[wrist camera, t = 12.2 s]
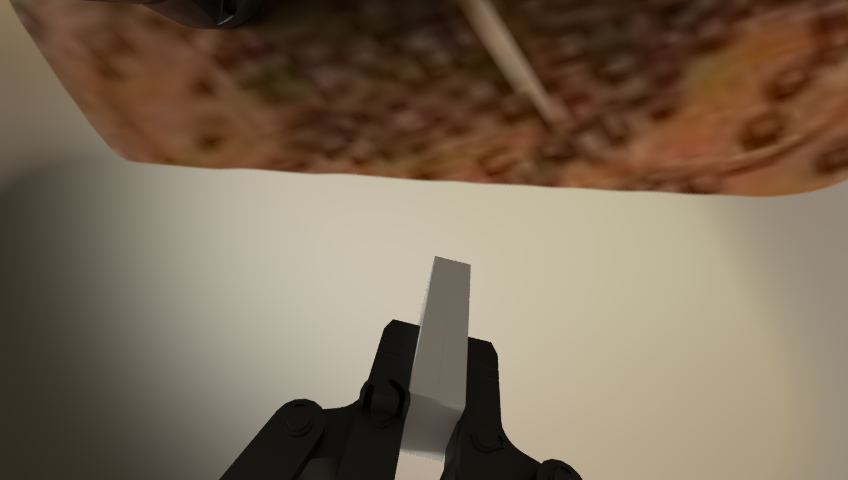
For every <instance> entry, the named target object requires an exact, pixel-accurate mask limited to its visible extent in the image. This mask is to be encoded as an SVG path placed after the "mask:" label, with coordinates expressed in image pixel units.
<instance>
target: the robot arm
mask: <svg viewBox="0 0 848 480" xmlns="http://www.w3.org/2000/svg"><path fill="white" fill-rule="evenodd" d="M86 1H101V2H115V3H129V4H142V5H144V6H146V7H148V8H150V9H152V10H154V11H156V12H158V13H160V14H162V15H164V16H166V17H168V18H170V19H172V20H174V21H176V22H178V23H180V24H183V25H186V26H189V27H193V28H199V29H227V28H232V27H235V26H238V25H240V24H242V23H243V22H245V21H247V20H248V19H249V18H250V17H252V16H253V15H254V14H255V12H256V11H257V10H258V9H259V7H260V6H261V4H262V3H263V1H264V0H86ZM470 266H471V265H470V264H465V263H461V262H457V261H453V260H449V259H444V258H441V257H437V256H435V258H434V262H433V266H432V270H431V274H430V277H429V281H428V285H427V289H426V293H425V297H424V300H423V304H422V309H421V314H420V318H419V323H418V325H414V324H410V323H406V322H402V321H398V320H392V321H391V322H390V323H389V324H388V325H387V326H386V327H385V328H384V330H383V334H382V337H381V340H380V343H379V346H378V350H377V353H376V356H375V359H374V362H373V366H372V369H371V372H370V375H369V378H368V380H367V381H366V382H365V383H364V385H363V387H362V388H361V391H360V396H359V399H358V400H357V401H355V402H354V403H353V404H350V405H348V406H346V407H341V408H332V409H322V408H321V406H319V405H318V404H317V403H316V402H314V401H311V400H308V399H297V400H296V399H295V400H293V401H290V402H288V403H285V404H284V405H283V406H282V407H281V408H279V410H277V411H276V413H275V414H274V415H273V416H272V417H271V418H270V420H269V421H268V422H267V423H266V424H265V426H264V427H263V428H262V429H261V430H260V431H259V433H258V434H257V435H256V436H255V438H254V439H253V440H252V441H251V442H250V443H249V445H248V446H247V447H246V448H245V449H244V451H243V452H242V453H241V454H240V455H239V457H238V458H237V459H236V460H235V461H234V463H233V464H232V465H231V466H230V467H229V469H228V470H227V471H226V472H225V473H224V475H223V476H222V477H221V478H220V479H219V480H394V479H395V474H396V468H397V463H398V457H399V452H400V451H401V452H405V453H409V454H413V455H418V456H421V457H426V458H430V459H434V460H438V461H442V460H443V458H444V455H445V463H444V471H443V473H442V475H441V478H440V480H582V478H581V477H580V475H579V474H578V473H577V472H576V471H575V470H574V469H573V468H572V467H571V466H570V465H568V464H566V463H564V462H562V461H560V460H555V459H550V460H546V461H544V462H543V463H542V464H541V463H539V462H538V461H536V460H534V459H533V458H531V457H529V456H528V455H526V454H524V453H523V452H521V451H520V450H518V449H517V448H516V447H515V446H514V445H513V444H512V443H511V442H510V441H509V439H508V438H507V436H506V435H505V433H504V430H503V428H502V423H501V408H500V390H499V371H498V355H497V353H496V351H495V349H494V347H493V345H492V343H491V342H488V341H484V340H480V339H475V338H471V337H468V320H469V294H470Z"/></svg>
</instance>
